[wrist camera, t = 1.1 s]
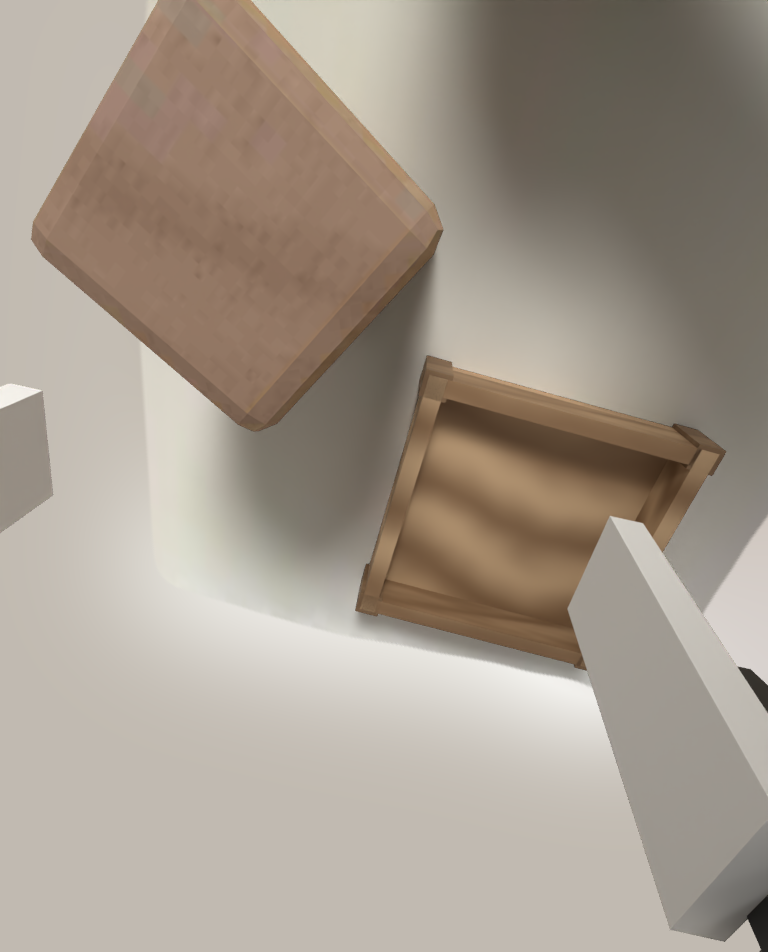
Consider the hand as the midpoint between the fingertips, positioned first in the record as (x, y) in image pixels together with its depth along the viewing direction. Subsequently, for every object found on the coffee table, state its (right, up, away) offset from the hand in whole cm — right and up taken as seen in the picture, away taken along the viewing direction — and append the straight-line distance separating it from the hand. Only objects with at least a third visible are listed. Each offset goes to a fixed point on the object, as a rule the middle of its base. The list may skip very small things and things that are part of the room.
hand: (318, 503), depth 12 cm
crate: (+12, -2, +29) cm, 31 cm away
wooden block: (-2, +16, +22) cm, 27 cm away
